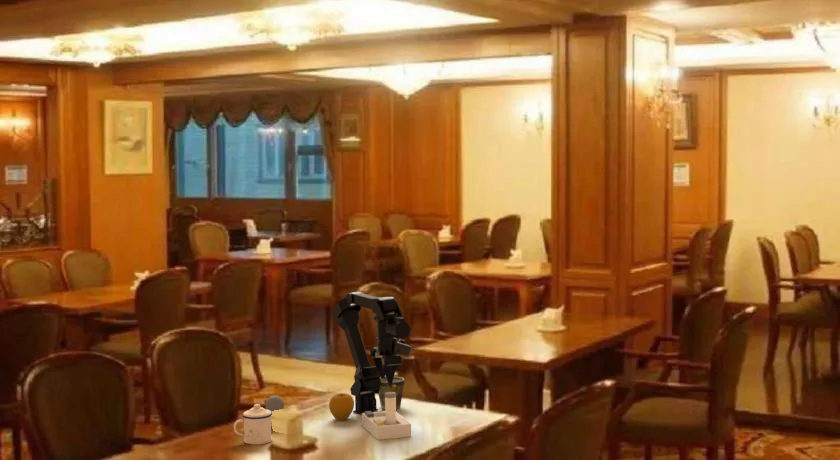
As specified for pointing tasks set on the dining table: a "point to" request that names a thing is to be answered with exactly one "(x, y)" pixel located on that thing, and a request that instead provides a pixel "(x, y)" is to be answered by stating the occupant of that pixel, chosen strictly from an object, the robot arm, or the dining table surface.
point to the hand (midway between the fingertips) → (386, 381)
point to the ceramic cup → (391, 390)
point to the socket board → (381, 431)
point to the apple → (341, 406)
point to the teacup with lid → (256, 425)
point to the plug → (390, 408)
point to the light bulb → (274, 403)
